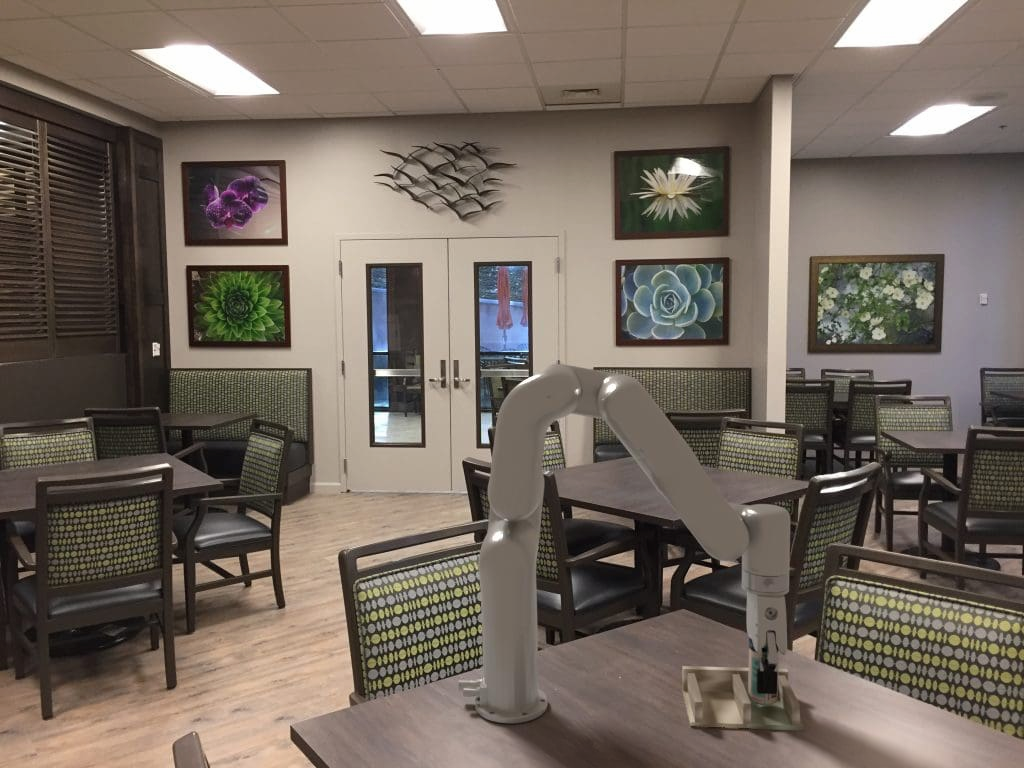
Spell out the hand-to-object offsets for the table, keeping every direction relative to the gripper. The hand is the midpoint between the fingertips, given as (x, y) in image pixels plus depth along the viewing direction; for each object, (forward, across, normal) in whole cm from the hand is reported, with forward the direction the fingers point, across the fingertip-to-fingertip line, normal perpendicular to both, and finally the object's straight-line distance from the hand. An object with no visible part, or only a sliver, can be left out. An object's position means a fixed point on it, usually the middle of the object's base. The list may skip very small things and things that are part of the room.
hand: (763, 683), depth 136 cm
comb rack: (+5, 0, +4) cm, 6 cm away
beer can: (+3, 0, 0) cm, 3 cm away
